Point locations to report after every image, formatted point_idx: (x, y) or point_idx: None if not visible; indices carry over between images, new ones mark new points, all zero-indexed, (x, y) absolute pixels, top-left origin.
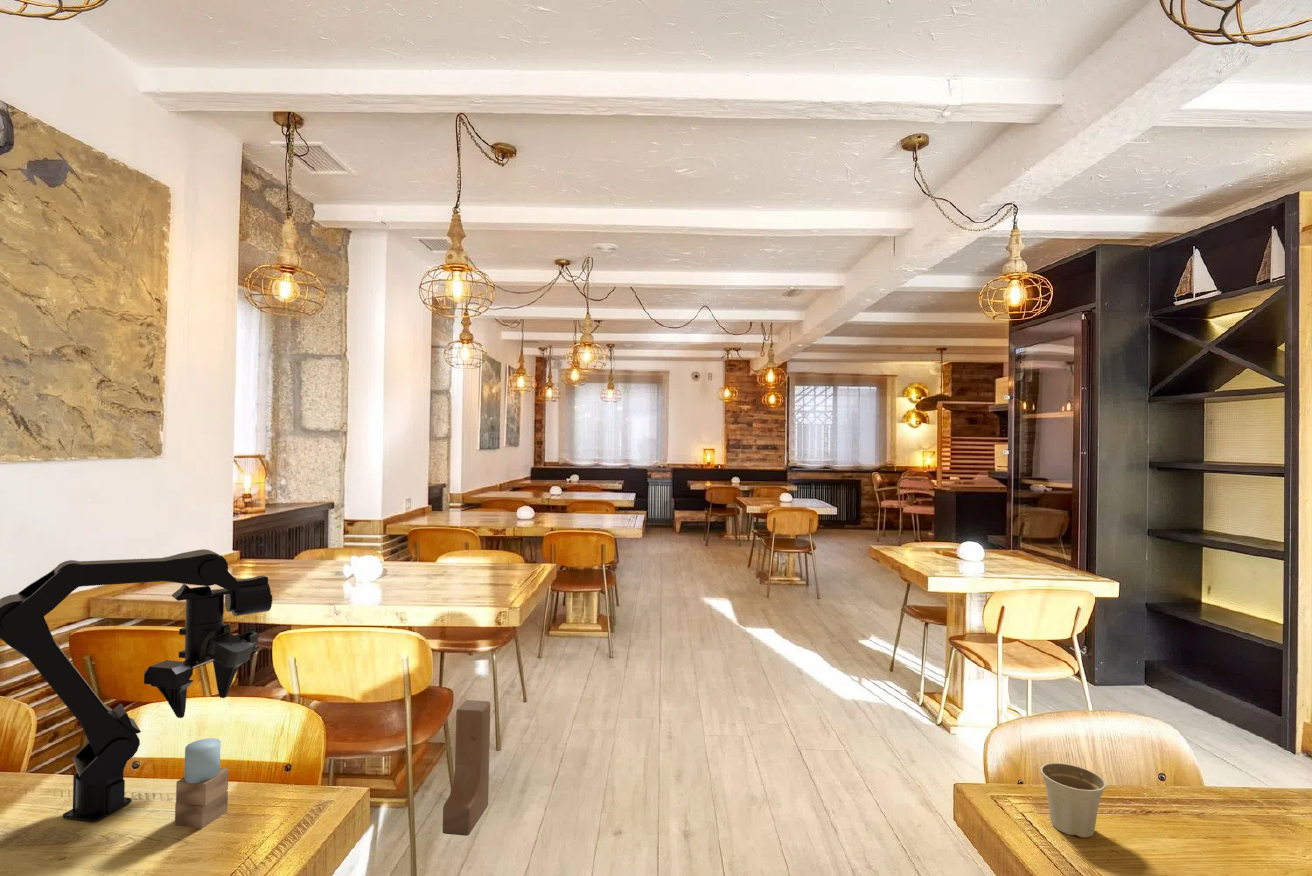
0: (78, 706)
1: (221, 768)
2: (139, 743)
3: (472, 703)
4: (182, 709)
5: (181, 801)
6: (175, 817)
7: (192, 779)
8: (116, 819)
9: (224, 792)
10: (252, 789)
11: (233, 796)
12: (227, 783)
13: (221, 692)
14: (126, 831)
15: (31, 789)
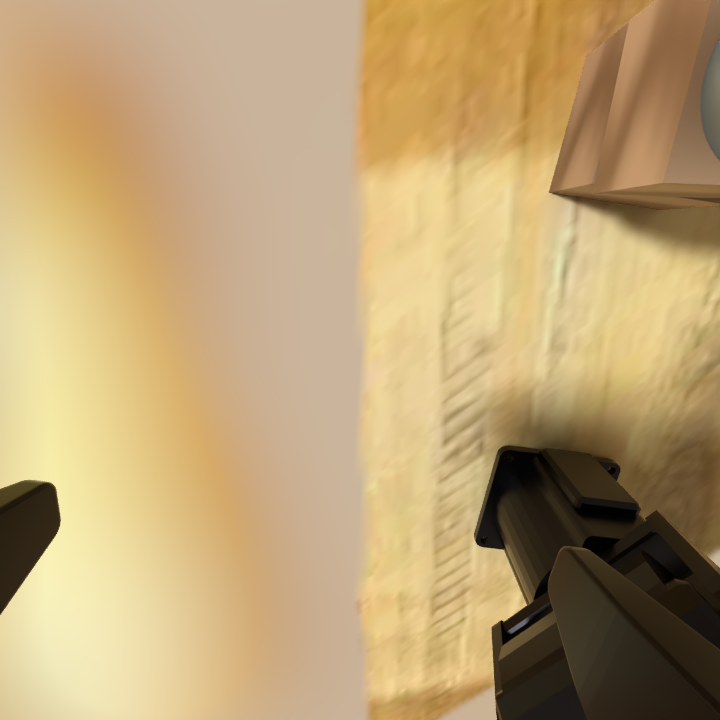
0: None
1: (713, 6)
2: (685, 587)
3: None
4: (677, 622)
5: None
6: (679, 207)
7: None
8: (599, 418)
9: None
10: (409, 67)
11: (467, 116)
12: (656, 3)
13: (13, 556)
14: (678, 341)
15: (432, 691)
